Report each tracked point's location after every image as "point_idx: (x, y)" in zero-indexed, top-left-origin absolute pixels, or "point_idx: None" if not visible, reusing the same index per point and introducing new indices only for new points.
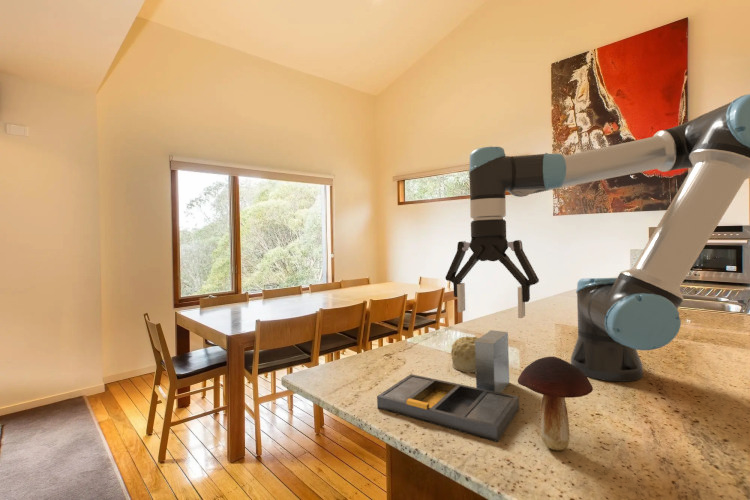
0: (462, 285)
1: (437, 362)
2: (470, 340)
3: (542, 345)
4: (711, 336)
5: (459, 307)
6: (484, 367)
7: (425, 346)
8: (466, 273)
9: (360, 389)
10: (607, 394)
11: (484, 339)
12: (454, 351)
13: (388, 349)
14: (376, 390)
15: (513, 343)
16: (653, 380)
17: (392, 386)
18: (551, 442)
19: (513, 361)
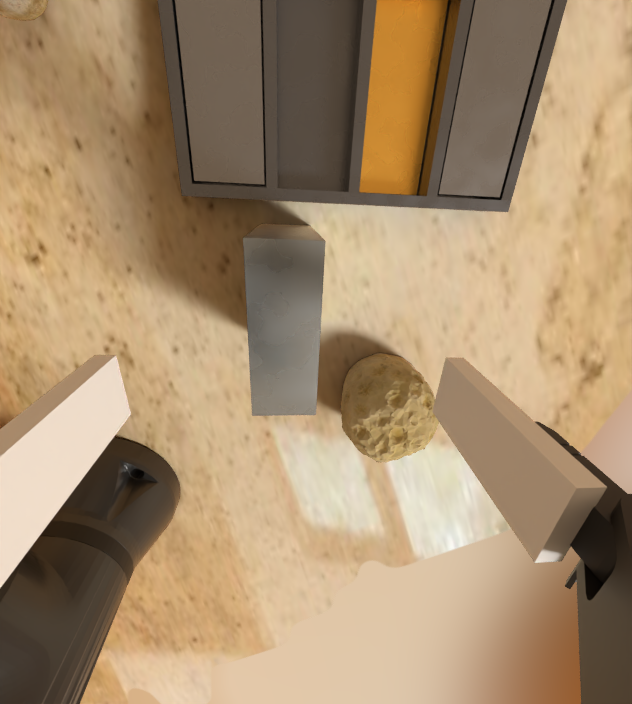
0: (540, 514)
1: None
2: (391, 428)
3: (266, 554)
4: None
5: (466, 370)
6: (286, 230)
7: None
8: (601, 671)
9: (627, 100)
10: (61, 372)
11: (297, 286)
12: (423, 384)
13: (598, 404)
14: (577, 118)
15: (324, 543)
16: None
17: (543, 77)
18: None
19: (294, 456)
